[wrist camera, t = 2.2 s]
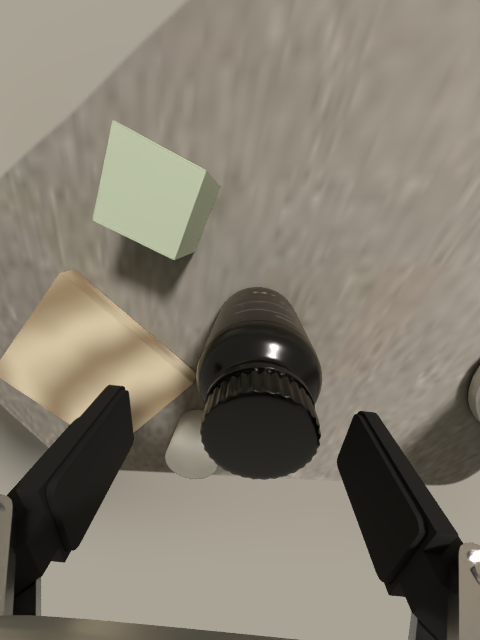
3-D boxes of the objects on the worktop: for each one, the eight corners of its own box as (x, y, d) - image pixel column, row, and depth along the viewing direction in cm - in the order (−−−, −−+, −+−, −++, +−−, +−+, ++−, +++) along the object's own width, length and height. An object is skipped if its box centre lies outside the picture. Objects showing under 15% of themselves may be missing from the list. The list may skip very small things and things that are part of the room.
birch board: (196, 373, 22) (193, 383, 21) (118, 440, 27) (110, 451, 25) (74, 269, 19) (60, 272, 18) (7, 363, 24) (-8, 372, 22)
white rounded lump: (232, 429, 25) (228, 464, 21) (202, 449, 27) (193, 485, 23) (199, 401, 24) (188, 433, 20) (169, 424, 25) (154, 458, 22)
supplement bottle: (288, 361, 21) (321, 508, 10) (215, 351, 21) (171, 485, 10) (305, 290, 19) (375, 384, 8) (222, 278, 19) (171, 355, 8)
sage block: (220, 186, 16) (206, 170, 12) (195, 251, 18) (174, 260, 14) (154, 150, 16) (112, 119, 11) (135, 222, 18) (92, 220, 13)
